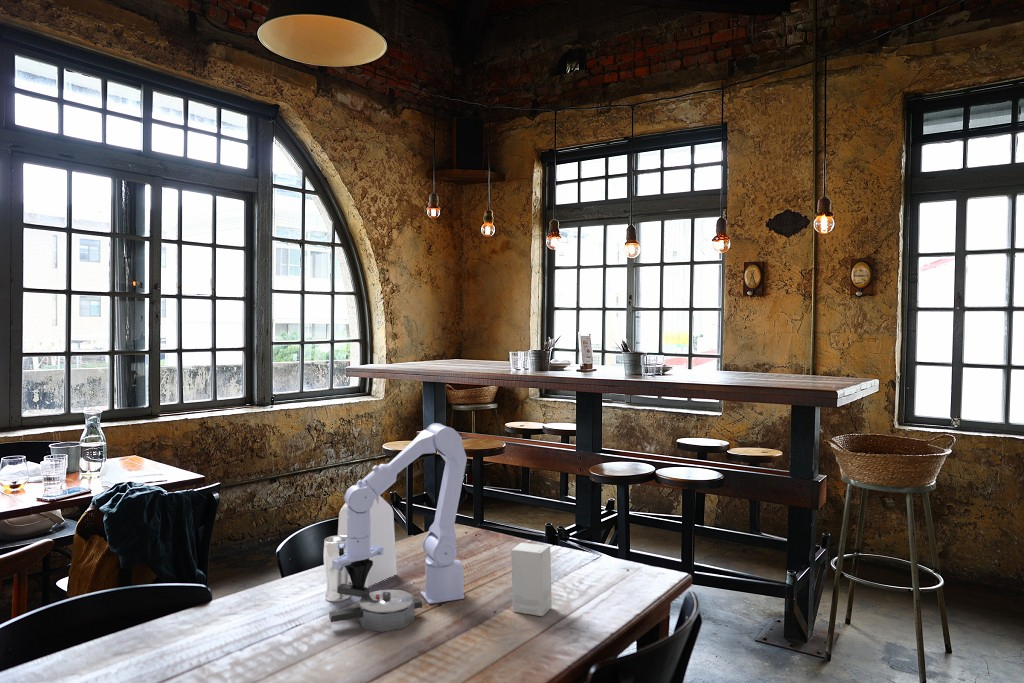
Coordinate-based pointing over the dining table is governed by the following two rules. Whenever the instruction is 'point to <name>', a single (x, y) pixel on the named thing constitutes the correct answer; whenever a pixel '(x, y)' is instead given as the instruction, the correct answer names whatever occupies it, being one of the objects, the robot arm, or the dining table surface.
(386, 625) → the pot
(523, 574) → the skincare box
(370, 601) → the lid
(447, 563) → the robot arm
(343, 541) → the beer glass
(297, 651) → the dining table surface
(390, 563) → the milk
